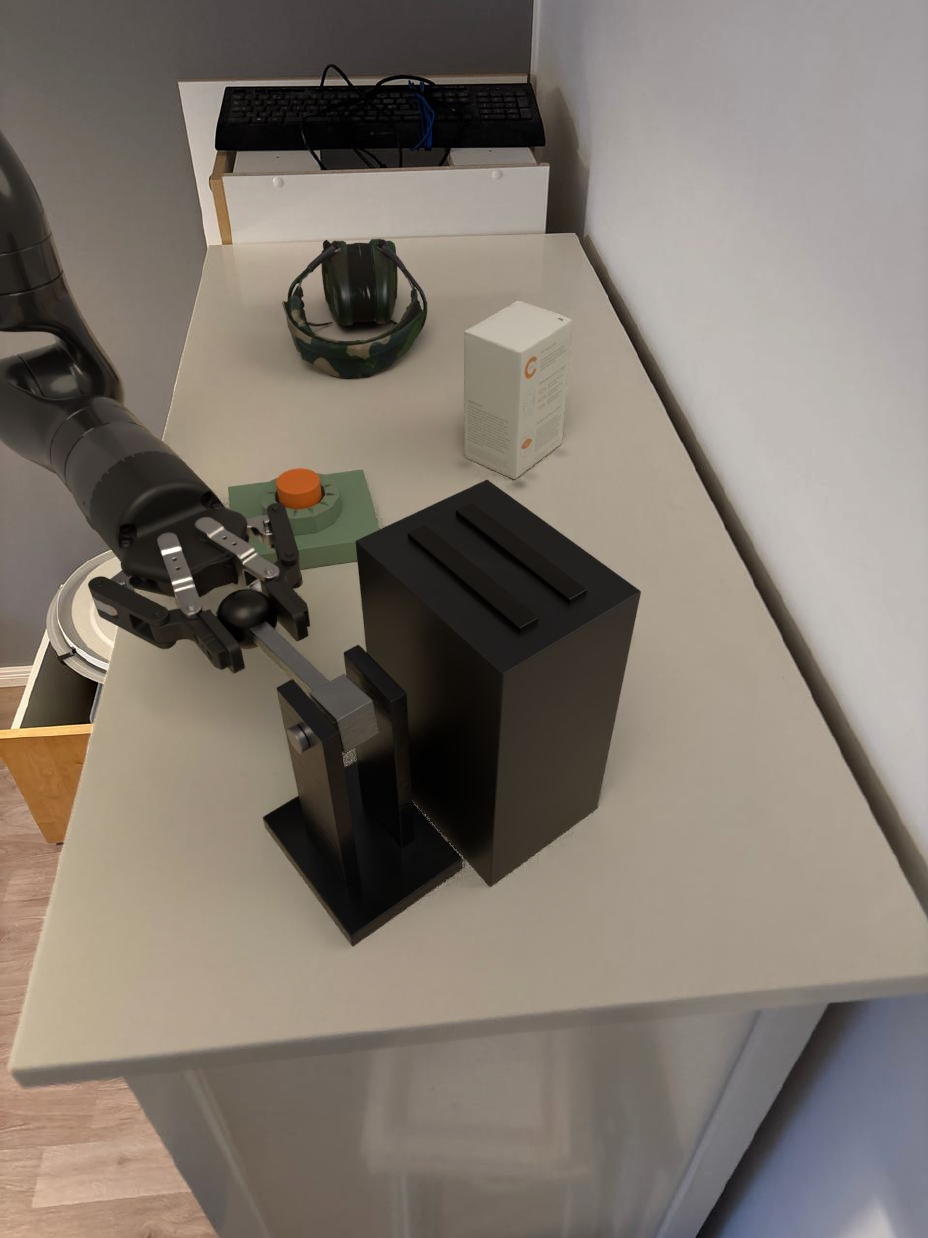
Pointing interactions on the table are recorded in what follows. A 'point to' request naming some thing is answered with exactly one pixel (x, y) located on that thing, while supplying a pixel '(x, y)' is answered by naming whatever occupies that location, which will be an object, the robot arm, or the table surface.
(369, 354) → the headphones
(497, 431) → the small box
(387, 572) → the toaster
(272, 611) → the toaster lever
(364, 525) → the control block
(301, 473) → the button
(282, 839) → the lever bracket
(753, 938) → the table surface
